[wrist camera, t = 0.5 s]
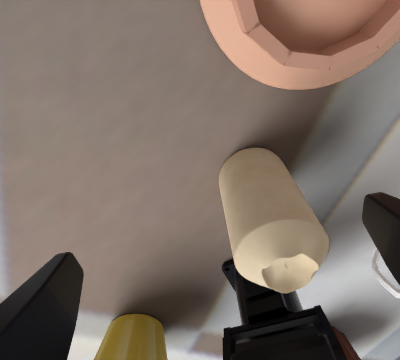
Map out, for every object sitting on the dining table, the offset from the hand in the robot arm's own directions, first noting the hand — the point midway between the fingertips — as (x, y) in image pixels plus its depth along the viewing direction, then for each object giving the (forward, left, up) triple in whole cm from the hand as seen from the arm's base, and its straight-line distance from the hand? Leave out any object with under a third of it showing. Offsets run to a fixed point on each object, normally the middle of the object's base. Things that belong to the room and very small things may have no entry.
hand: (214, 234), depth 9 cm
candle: (-8, -2, -13) cm, 16 cm away
